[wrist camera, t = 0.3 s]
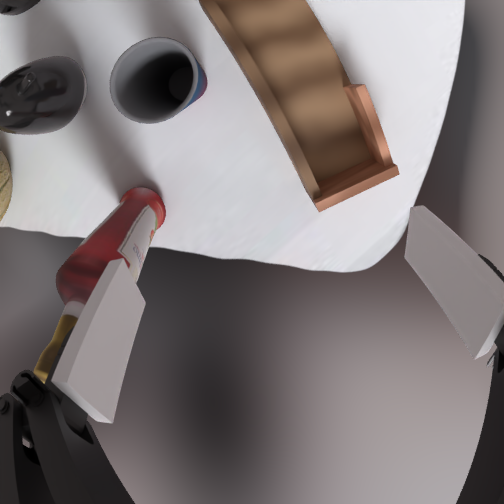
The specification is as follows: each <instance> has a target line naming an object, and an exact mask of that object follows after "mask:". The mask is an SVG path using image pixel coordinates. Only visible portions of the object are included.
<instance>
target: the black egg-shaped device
mask: <svg viewBox="0 0 504 504" xmlns="http://www.w3.org/2000/svg"><path fill="white" fill-rule="evenodd" d="M86 91H87V82H86V77H85V74H84V72H83V71H82V69H81V68H80V66H79V65H78V64H77V63H76V62H75V61H74V60H73V59H71V58H69V57H65V56H52V57H47V58H42V59H39V60H36V61H33V62H30V63H28V64H26V65H23V66H21V67H19V68H17V69H15V70H14V71H12V72H11V73H9V74H8V75H6V76H5V77H4V78H3V79H2V80H1V81H0V130H1V131H4V132H7V133H12V134H21V135H35V134H44V133H50V132H54V131H57V130H59V129H61V128H63V127H65V126H66V125H67V124H68V123H70V122H71V120H72V119H73V118H74V117H75V115H76V114H77V113H78V111H79V110H80V108H81V107H82V105H83V102H84V100H85V96H86Z"/></svg>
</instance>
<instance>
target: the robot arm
mask: <svg viewBox="0 0 504 504" xmlns="http://www.w3.org/2000/svg"><path fill="white" fill-rule="evenodd" d="M39 1H40V0H0V14H4V15H17V14H20V13H23V12H25V11H27V10H28V9H30V8H31V7H33V6H34V5H35V4H37V3H38V2H39ZM407 236H408V237H407V243H406V250H405V259H406V260H407V261H408V263H409V264H410V265H411V266H412V268H413V269H414V270H415V272H416V273H417V274H418V276H419V277H420V278H421V280H422V281H423V282H424V284H425V285H426V286H427V288H428V289H429V291H430V292H431V293H432V295H433V296H434V298H435V299H436V300H437V302H438V303H439V305H440V306H441V308H442V309H443V311H444V312H445V314H446V315H447V317H448V318H449V319H450V321H451V323H452V324H453V326H454V327H455V329H456V330H457V332H458V334H459V335H460V337H461V338H462V340H463V341H464V343H465V345H466V347H467V348H468V350H469V352H470V353H471V355H472V357H473V359H474V360H475V359H476V358H479V357H480V356H482V355H484V354H486V353H488V351H489V350H490V348H491V346H492V345H493V343H495V344H496V346H497V349H496V351H495V352H494V353H493V355H492V357H491V358H490V359H489V361H488V363H487V367H489V365H490V364H491V363H492V361H493V360H494V364H493V366H492V368H493V372H492V380H491V387H490V394H489V399H488V404H487V409H486V414H485V419H484V423H483V427H482V431H481V435H480V439H479V442H478V446H477V449H476V452H475V456H474V459H473V462H472V465H471V468H470V470H469V473H468V476H467V479H466V481H465V484H464V486H463V489H462V491H461V493H460V496H459V498H458V500H457V503H456V504H504V276H503V275H502V273H501V272H500V271H499V270H497V268H496V267H495V266H494V265H493V264H492V263H491V262H490V261H489V260H488V259H486V258H485V257H483V256H482V255H480V254H478V255H477V254H476V253H475V252H474V251H473V250H472V249H471V248H470V247H469V246H468V245H467V244H466V243H465V242H464V241H463V240H462V239H461V238H460V237H459V236H458V235H457V234H456V233H454V232H453V231H452V230H451V229H450V228H449V227H448V226H447V225H446V224H444V223H443V222H442V221H441V220H440V219H439V218H438V217H436V216H435V215H434V214H433V213H432V212H430V211H429V210H428V209H427V208H426V207H424V206H417V207H410V217H409V227H408V235H407ZM145 304H146V303H145V301H144V299H143V297H142V295H141V293H140V291H139V289H138V287H137V285H136V283H135V281H134V279H133V277H132V275H131V273H130V271H129V269H128V267H127V265H126V263H125V260H124V258H121V259H117V260H112V261H110V262H109V263H108V265H107V267H106V268H105V270H104V272H103V274H102V275H101V277H100V279H99V281H98V283H97V284H96V286H95V288H94V290H93V292H92V294H91V295H90V297H89V299H88V301H87V303H86V305H85V307H84V309H83V311H82V313H81V315H80V317H79V319H78V321H77V323H76V325H75V326H73V327H72V328H71V329H70V331H69V332H68V333H67V334H66V335H65V337H64V339H63V342H62V344H61V348H59V350H58V353H57V356H56V357H55V359H54V362H53V364H52V366H51V369H50V371H49V374H48V376H47V378H46V381H45V383H43V382H42V381H41V380H40V379H39V378H38V377H37V376H36V375H35V374H34V373H33V372H32V371H30V370H24V371H22V372H20V373H19V374H18V375H17V376H16V377H15V379H14V380H13V382H12V385H11V390H10V392H11V394H12V395H13V396H14V397H15V398H16V399H15V398H14V397H13V396H12V395H11V394H9V393H6V394H4V395H2V396H1V397H0V504H135V503H134V501H133V500H132V498H131V497H130V495H129V494H128V492H127V491H126V489H125V487H124V486H123V484H122V483H121V481H120V479H119V478H118V476H117V474H116V473H115V471H114V469H113V467H112V466H111V464H110V462H109V460H108V459H107V457H106V455H105V453H104V451H103V449H102V447H101V445H100V443H99V441H98V439H97V437H96V435H95V433H94V431H93V429H92V427H91V425H90V423H89V422H88V421H87V416H88V414H89V415H90V416H91V417H92V418H93V419H95V420H96V421H99V422H106V423H113V420H114V415H115V410H116V407H117V402H118V398H119V394H120V389H121V385H122V382H123V378H124V374H125V370H126V366H127V363H128V359H129V355H130V352H131V349H132V345H133V342H134V339H135V335H136V332H137V329H138V325H139V322H140V319H141V316H142V313H143V310H144V307H145ZM17 399H18V400H17ZM22 438H24V439H25V440H27V441H28V442H29V443H30V447H29V448H28V447H26V446H24V445H23V442H22Z"/></svg>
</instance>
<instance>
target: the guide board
mask: <svg viewBox="0 0 504 504" xmlns="http://www.w3.org/2000/svg"><path fill="white" fill-rule="evenodd" d="M199 2H200V5H201V7H202V9H203V11H204V12H205V14H206V15H207V17H208V18H209V20H210V21H211V23H212V24H213V26H214V27H215V29H216V30H217V32H218V33H219V35H220V36H221V38H222V39H223V41H224V42H225V44H226V45H227V47H228V49H229V50H230V52H231V53H232V55H233V57H234V58H235V60H236V61H237V63H238V65H239V66H240V68H241V70H242V71H243V73H244V75H245V76H246V78H247V80H248V82H249V83H250V85H251V87H252V88H253V90H254V92H255V94H256V95H257V97H258V99H259V101H260V102H261V104H262V106H263V108H264V110H265V111H266V113H267V115H268V117H269V119H270V121H271V122H272V124H273V126H274V128H275V130H276V132H277V134H278V136H279V138H280V139H281V141H282V143H283V145H284V147H285V149H286V151H287V153H288V155H289V157H290V159H291V161H292V163H293V165H294V167H295V169H296V171H297V173H298V175H299V177H300V179H301V182H302V184H303V186H304V188H305V190H306V192H307V193H308V195H309V197H310V198H311V200H312V201H313V203H314V205H315V206H316V208H317V209H318V211H319V212H321V211H323V210H325V209H327V208H329V207H331V206H333V205H336V204H338V203H340V202H342V201H344V200H346V199H348V198H350V197H352V196H355V195H357V194H359V193H361V192H363V191H365V190H367V189H369V188H372V187H374V186H376V185H378V184H380V183H382V182H384V181H386V180H389V179H391V178H393V177H395V176H397V175H399V171H398V167H397V165H395V164H394V163H393V161H392V158H391V155H390V151H389V148H388V145H387V142H386V139H385V136H384V133H383V130H382V127H381V124H380V122H379V119H378V116H377V114H376V111H375V108H374V106H373V103H372V101H371V98H370V96H369V93H368V91H367V89H366V86H365V85H364V84H351V83H350V81H349V78H348V76H347V74H346V72H345V70H344V68H343V66H342V64H341V62H340V60H339V58H338V56H337V54H336V52H335V50H334V48H333V46H332V44H331V42H330V41H329V39H328V37H327V35H326V33H325V32H324V30H323V28H322V26H321V25H320V23H319V21H318V20H317V18H316V16H315V15H314V13H313V11H312V10H311V8H310V7H309V5H308V3H307V2H306V0H199Z"/></svg>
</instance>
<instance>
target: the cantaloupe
mask: <svg viewBox="0 0 504 504" xmlns="http://www.w3.org/2000/svg"><path fill="white" fill-rule="evenodd" d="M12 186H13V184H12V175H11V170H10V166H9V163H8V161H7V159H6V157H5V155H4V154H3V153H2V152H1V151H0V221H1V220H2V218H3V216H4V215H5V213H6V211H7V209H8V206H9V203H10V200H11V194H12Z"/></svg>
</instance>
